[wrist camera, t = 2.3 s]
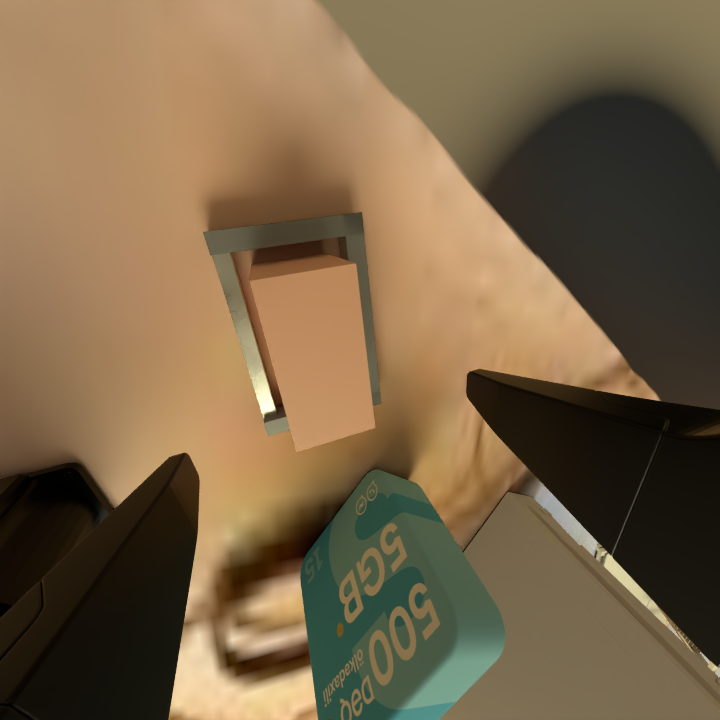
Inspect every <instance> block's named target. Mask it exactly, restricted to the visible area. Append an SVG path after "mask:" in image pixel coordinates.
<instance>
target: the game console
mask: <svg viewBox="0 0 720 720" xmlns="http://www.w3.org/2000/svg"><path fill="white" fill-rule="evenodd" d="M463 554H464V555H465V557H466V558H467V560H468V562H469V563H470V565H471V566H472V568H473V569H474V571H475V572H476V574H477V576H478V577H479V579H480V580H481V582H482V583H483V585H484V586H485V588H486V590H487V591H488V593H489V594H490V596H491V597H492V599H493V600H494V602H495V604H496V605H497V607H498V609H499V611H500V613H501V616H502V619H503V623H504V628H505V644H504V648H503V651H502V654H501V655H500V657H499V658H498V659H497V661H496V662H495V663H494V664H493V665H492V666H491V667H490V668H489V669H488V670H487V671H486V672H485V673H484V674H483V675H482V676H481V677H480V678H479V679H478V680H477V681H476V682H475V683H474V684H473V685H472V686H471V687H470V688H469V689H468V690H467V691H466V692H465V693H464V694H463V695H462V697H461V698H460V699H459V700H458V701H457V702H456V703H455V704H454V705H453V706H452V707H451V708H450V709H449V710H448V711H447V712H446V713H445V714H444V715H443V716H442V717H441V718H440V719H439V720H720V677H719V678H718V676H717V675H716V674H715V673H714V672H713V671H712V670H711V669H710V668H709V667H708V666H707V665H706V664H705V663H704V662H703V661H702V660H701V659H700V658H699V657H697V656H696V655H695V654H694V653H693V652H692V651H691V650H690V649H689V648H688V647H687V646H686V645H685V644H684V643H683V642H682V641H681V640H680V639H679V638H678V637H677V636H676V635H675V634H674V633H673V632H672V631H671V630H670V629H668V628H667V627H666V626H665V625H664V624H663V623H662V622H661V621H660V620H659V619H658V618H657V617H656V616H655V615H654V614H653V613H652V612H651V611H650V610H649V609H648V608H647V607H646V606H645V605H644V604H642V603H641V602H640V601H639V600H638V599H637V598H636V597H635V596H634V595H633V594H632V593H631V592H630V591H629V590H628V589H627V588H626V587H625V586H624V585H623V584H622V583H621V582H620V581H619V580H618V579H616V578H615V577H614V576H613V575H612V574H611V573H610V572H609V571H608V570H607V569H606V568H605V567H604V566H603V565H602V564H601V563H600V562H599V561H598V560H597V559H596V558H595V557H594V556H593V555H592V554H590V553H589V552H588V551H587V550H586V549H585V548H584V547H583V546H582V545H579V544H578V543H577V542H576V541H575V540H574V539H573V538H572V537H571V536H570V535H569V534H568V533H567V532H566V531H565V530H564V529H563V528H562V527H561V526H560V524H559V523H558V522H557V521H556V520H555V519H554V518H553V517H552V516H551V513H549V512H548V511H547V510H546V509H544V508H543V507H542V506H541V505H540V504H539V503H538V502H537V501H536V500H535V499H534V498H533V497H530V496H525V495H520V494H516V493H511V492H507V494H506V495H505V496H504V498H503V499H502V501H501V502H500V503H499V505H498V506H497V507H496V509H495V510H494V511H493V513H492V514H491V516H490V517H489V518H488V520H487V521H486V522H485V524H484V525H483V526H482V528H481V529H480V530H479V532H478V533H477V535H476V536H475V537H474V539H473V540H472V541H471V543H470V544H469V545H468V547H467V548H466V550H465V551H464V552H463Z"/></svg>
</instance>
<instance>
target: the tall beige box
mask: <svg viewBox="0 0 720 720" xmlns="http://www.w3.org/2000/svg"><path fill="white" fill-rule="evenodd" d="M250 285H251V288H252V292H253V296H254V299H255V303H256V307H257V310H258V314H259V318H260V321H261V325H262V329H263V332H264V336H265V340H266V343H267V347H268V351H269V354H270V358H271V361H272V365H273V369H274V372H275V376H276V380H277V383H278V387H279V391H280V394H281V398H282V402H283V405H284V409H285V413H286V416H287V420H288V424H289V427H290V431H291V434H292V438H293V442H294V445H295V449H296V452H299V451H302V450H305V449H309V448H312V447H315V446H318V445H322V444H325V443H328V442H331V441H335V440H338V439H341V438H344V437H348V436H351V435H354V434H357V433H361V432H364V431H367V430H370V429H374V428H375V420H374V412H373V403H372V395H371V386H370V378H369V369H368V361H367V352H366V343H365V335H364V326H363V318H362V309H361V301H360V292H359V284H358V275H357V266H356V263H354V262H350V261H347V260H344V259H341V258H338V257H335V256H332V255H329V254H325V253H324V254H317V255H311V256H304V257H298V258H291V259H285V260H278V261H272V262H265V263H259V264H252V265H251V273H250Z"/></svg>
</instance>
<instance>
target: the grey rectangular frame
mask: <svg viewBox="0 0 720 720" xmlns="http://www.w3.org/2000/svg"><path fill="white" fill-rule="evenodd" d="M203 233H204V236H205V240H206V243H207V246H208V249H209V252H210V255H212V256H213V259H214V263H215V266H216V269H217V272H218V275H219V278H220V282H221V285H222V288H223V291H224V294H225V297H226V301H227V304H228V307H229V310H230V313H231V316H232V320H233V323H234V326H235V329H236V332H237V335H238V339H239V342H240V345H241V348H242V351H243V354H244V358H245V361H246V364H247V367H248V370H249V373H250V377H251V380H252V383H253V386H254V389H255V392H256V395H257V399H258V402H259V405H260V408H261V411H262V414H263V418H264V425H265V428H266V431H267V434H268V436H270V435H273V434H277V433H280V432H284V431H287V430H290V427H289V424H288V420H287V416H286V413H285V409H284V405H279V406H276V405H275V402H274V398H273V395H272V391H271V388H270V384H269V381H268V377H267V374H266V370H265V367H264V363H263V360H262V356H261V353H260V349H259V346H258V342H257V339H256V336H255V332H254V329H253V325H252V322H251V318H250V315H249V311H248V308H247V304H246V301H245V297H244V294H243V290H242V287H241V283H240V280H239V277H238V273H237V270H236V266H235V263H234V259H233V256H232V252H239V251H246V250H253V249H260V248H267V247H274V246H281V245H288V244H295V243H302V242H309V241H316V240H323V239H330V238H337V237H339V243H340V251H341V258H342V259H344V260H347V261H350V262H354V263H356V266H357V275H358V284H359V292H360V301H361V309H362V318H363V326H364V335H365V343H366V352H367V361H368V369H369V378H370V386H371V395H372V403H373V406H374V405H378V404H381V396H380V386H379V376H378V366H377V356H376V347H375V337H374V327H373V317H372V307H371V297H370V287H369V277H368V267H367V258H366V248H365V238H364V228H363V218H362V212H360V213H352V214H344V215H336V216H327V217H319V218H311V219H303V220H295V221H287V222H279V223H271V224H263V225H255V226H247V227H239V228H231V229H223V230H215V231H207V232H203Z"/></svg>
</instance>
